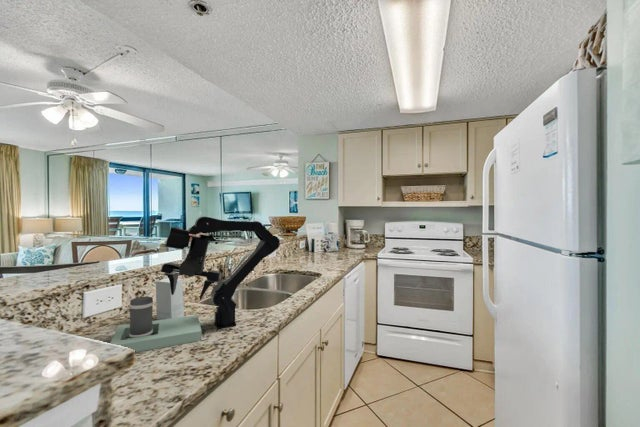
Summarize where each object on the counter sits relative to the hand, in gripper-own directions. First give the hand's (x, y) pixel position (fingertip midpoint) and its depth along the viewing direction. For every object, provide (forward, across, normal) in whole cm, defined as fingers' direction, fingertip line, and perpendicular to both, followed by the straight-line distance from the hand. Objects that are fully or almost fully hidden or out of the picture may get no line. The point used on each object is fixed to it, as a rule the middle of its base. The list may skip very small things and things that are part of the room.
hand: (186, 297), depth 97 cm
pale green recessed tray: (+13, -4, -3) cm, 14 cm away
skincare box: (+12, -8, +14) cm, 20 cm away
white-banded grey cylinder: (+14, -9, -5) cm, 18 cm away
